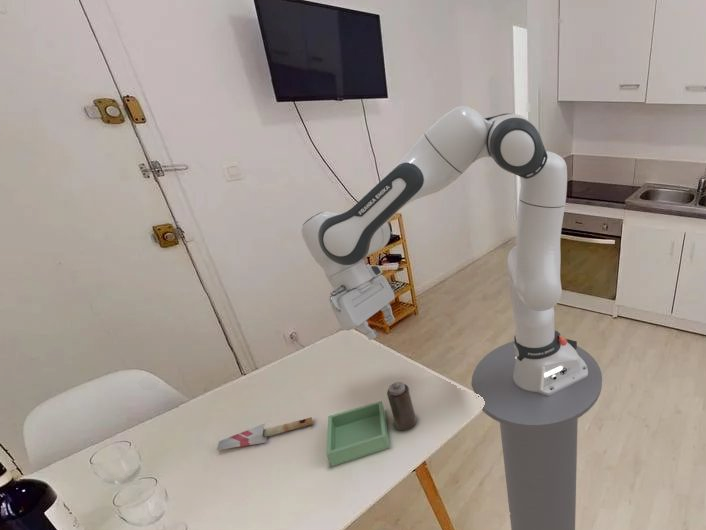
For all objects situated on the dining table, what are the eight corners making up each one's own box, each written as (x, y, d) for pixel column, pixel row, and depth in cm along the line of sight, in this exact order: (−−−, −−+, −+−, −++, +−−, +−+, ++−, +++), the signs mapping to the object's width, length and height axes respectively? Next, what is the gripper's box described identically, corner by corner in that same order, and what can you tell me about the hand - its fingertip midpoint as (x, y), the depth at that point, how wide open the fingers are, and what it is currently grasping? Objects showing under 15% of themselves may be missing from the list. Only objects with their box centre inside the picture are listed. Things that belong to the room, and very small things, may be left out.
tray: (385, 412, 107) (381, 400, 105) (389, 447, 97) (385, 435, 95) (332, 427, 103) (328, 416, 101) (331, 466, 93) (326, 454, 91)
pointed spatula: (217, 435, 97) (311, 411, 105) (221, 443, 99) (313, 419, 106) (213, 447, 94) (310, 422, 102) (217, 455, 96) (312, 430, 103)
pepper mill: (415, 413, 106) (405, 373, 100) (417, 426, 102) (407, 386, 96) (395, 419, 105) (383, 379, 98) (397, 433, 101) (385, 392, 94)
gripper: (337, 288, 85) (373, 343, 89) (382, 264, 105) (410, 310, 108) (314, 300, 87) (350, 353, 90) (363, 274, 106) (390, 319, 110)
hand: (383, 329), depth 99 cm, fingers open, 8 cm apart
